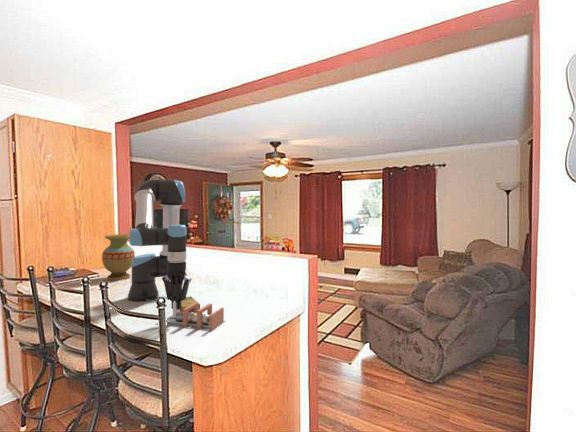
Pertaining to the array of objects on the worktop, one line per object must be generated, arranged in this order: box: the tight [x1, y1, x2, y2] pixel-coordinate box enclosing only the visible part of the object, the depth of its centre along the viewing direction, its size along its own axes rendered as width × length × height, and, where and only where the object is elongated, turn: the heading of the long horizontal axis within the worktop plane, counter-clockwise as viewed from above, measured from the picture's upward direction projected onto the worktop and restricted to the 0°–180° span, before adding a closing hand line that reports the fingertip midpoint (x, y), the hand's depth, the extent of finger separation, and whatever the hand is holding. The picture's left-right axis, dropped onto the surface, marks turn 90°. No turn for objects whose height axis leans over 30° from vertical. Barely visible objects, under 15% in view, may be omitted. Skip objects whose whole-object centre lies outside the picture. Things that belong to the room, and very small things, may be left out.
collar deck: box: [154, 301, 226, 333], centre depth 127 cm, size 26×12×8 cm, turn 75°
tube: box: [175, 311, 210, 325], centre depth 126 cm, size 16×4×4 cm, turn 75°
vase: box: [101, 233, 136, 281], centre depth 209 cm, size 20×20×30 cm
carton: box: [180, 295, 201, 313], centre depth 147 cm, size 8×16×4 cm, turn 32°
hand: (176, 316), depth 128 cm, fingers closed
